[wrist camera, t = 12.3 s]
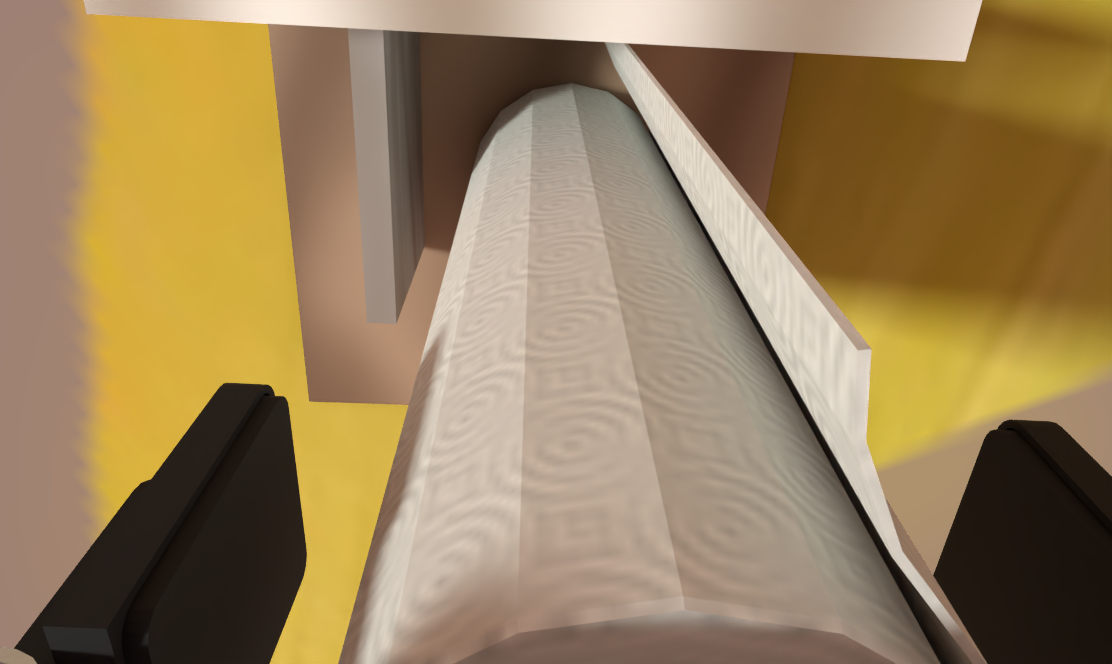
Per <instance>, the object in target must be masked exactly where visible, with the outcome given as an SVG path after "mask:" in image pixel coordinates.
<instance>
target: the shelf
mask: <svg viewBox="0 0 1112 664" xmlns="http://www.w3.org/2000/svg"><path fill="white" fill-rule="evenodd" d="M84 4H85V9H86V14H98V15H116V16H135V17H153V18H171V19H190V20H208V21H227V22H245V23H264V24H268V26H269V36H270V45H271V54H272V63H273V72H274V82H275V91H276V100H277V109H278V118H279V127H280V137H281V146H282V155H283V164H284V173H285V182H286V192H287V201H288V210H289V219H290V228H291V237H292V247H293V256H294V265H295V274H296V283H297V293H298V302H299V311H300V320H301V329H302V338H303V348H304V357H305V366H306V375H307V384H308V393H309V401H313V402H342V403H372V404H401V405H409V402H410V399H411V395H412V391H413V388H414V384H415V380H416V377H417V373H418V369H419V365H420V362H421V358H422V354H423V351H424V347H425V343H426V340H427V336H428V332H429V329H430V325H431V321H432V318H433V314H434V310H435V307H436V303H437V299H438V296H439V292H440V288H441V285H442V281H443V277H444V274H445V270H446V266H447V263H448V259H449V255H450V252H451V248H452V244H453V240H454V237H455V233H456V229H457V226H458V222H459V218H460V215H461V211H462V207H463V204H464V200H465V196H466V193H467V189H468V185H469V182H470V178H471V174H472V171H473V167H474V163H475V160H476V156H477V152H478V149H479V145H480V142H481V140H482V139H483V137H484V136H485V134H486V133H487V131H488V130H489V128H490V127H491V125H492V124H493V122H494V121H495V119H496V118H497V116H498V115H499V113H500V112H501V110H503V109H504V108H506V107H508V106H509V105H511V104H512V103H514V102H515V101H517V100H518V99H520V98H521V97H523V96H524V95H526V94H527V93H529V92H530V91H532V90H535V89H540V88H546V87H551V86H557V85H563V84H568V83H573V84H577V85H582V86H586V87H590V88H594V89H599V90H603V91H607V92H609V93H611V94H612V95H613V96H615V97H616V98H617V99H619V100H620V101H621V102H623V103H624V104H625V105H627V106H628V107H629V108H631V109H632V110H633V111H635V112H636V113H637V114H639V116H640V118H641V120H642V122H643V124H644V125H645V127H646V129H647V131H648V127H647V123H646V122H645V120H644V118H643V116H642V115H641V113H640V111H639V109H638V107H637V106H636V104H635V102H634V100H633V99H632V97H631V95H630V93H629V92H628V90H627V88H626V86H625V84H624V83H623V81H622V79H621V77H620V76H619V74H618V72H617V70H616V69H615V67H614V64H613V62H612V59H611V57H610V54H609V52H608V49H607V47H606V45H605V42H614V43H628V45H629V46H630V47H631V48H632V50H633V51H634V52H635V53H636V55H637V56H638V57H639V58H640V60H641V61H642V62H643V64H644V65H645V66H646V67H647V69H648V70H649V71H650V72H651V74H652V75H653V76H654V77H655V79H656V80H657V81H658V82H659V84H660V85H661V86H662V87H663V89H664V90H665V91H666V92H667V94H668V95H669V96H670V97H671V99H672V100H673V101H674V102H675V104H676V105H677V106H678V107H679V109H680V110H681V111H682V112H683V114H684V115H685V116H686V117H687V119H688V120H689V121H690V122H691V124H692V125H693V126H694V127H695V129H696V130H697V131H698V132H699V134H700V135H701V136H702V137H703V139H704V140H705V141H706V142H707V144H708V145H709V146H710V147H711V149H712V150H713V151H714V152H715V154H716V155H717V156H718V157H719V159H720V160H721V161H722V162H723V164H724V165H725V166H726V167H727V169H728V170H729V171H730V172H731V174H732V175H733V176H734V177H735V179H736V180H737V181H738V182H739V184H740V185H741V186H742V187H743V189H744V190H745V191H746V192H747V194H748V195H749V196H750V197H751V199H752V200H753V201H754V202H755V204H756V205H757V206H758V207H759V209H760V210H761V211H762V212H763V214H764V215H765V213H766V208H767V202H768V197H769V192H770V186H771V181H772V175H773V170H774V165H775V159H776V154H777V148H778V143H779V138H780V132H781V127H782V121H783V116H784V111H785V105H786V100H787V94H788V89H789V84H790V78H791V73H792V67H793V62H794V57H795V52H798V53H816V54H835V55H853V56H872V57H890V58H908V59H927V60H945V61H964V62H965V61H966V57H967V54H968V50H969V46H970V43H971V39H972V36H973V32H974V29H975V25H976V22H977V18H978V14H979V11H980V7H981V4H982V0H84ZM648 133H649V131H648Z"/></svg>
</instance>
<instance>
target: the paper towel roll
mask: <svg viewBox="0 0 1112 664" xmlns="http://www.w3.org/2000/svg"><path fill="white" fill-rule="evenodd" d="M605 45H606V47H607V49H608V52H609V54H610V57H611V59H612V62H613V64H614V67H615V69H616V70H617V72H618V74H619V76H620V77H621V79H622V81H623V83H624V84H625V86H626V88H627V90H628V92H629V93H630V95H631V97H632V99H633V100H634V102H635V104H636V106H637V107H638V109H639V111H640V113H641V115H642V116H643V118H644V120H645V122H646V123H647V127H648V131H649V133H648V131H647V129H646V127H645V125H644V124H643V122H642V120H641V118H640V116H639V114H637V113H636V112H635V111H633V110H632V109H631V108H629V107H628V106H627V105H625V104H624V103H623V102H621V101H620V100H619V99H617V98H616V97H615V96H613V95H612V94H611V93H609V92H607V91H603V90H599V89H594V88H590V87H586V86H582V85H577V84H573V83H568V84H563V85H557V86H551V87H546V88H540V89H535V90H532V91H530V92H529V93H527V94H526V95H524V96H523V97H521V98H520V99H518V100H517V101H515V102H514V103H512V104H511V105H509V106H508V107H506V108H504V109H503V110H501V112H500V113H499V115H498V116H497V118H496V119H495V121H494V122H493V124H492V125H491V127H490V128H489V130H488V131H487V133H486V134H485V136H484V137H483V139H482V140H481V142H480V145H479V149H478V152H477V156H476V160H475V163H474V167H473V171H472V174H471V178H470V182H469V185H468V189H467V193H466V196H465V200H464V204H463V207H462V211H461V215H460V218H459V222H458V226H457V229H456V233H455V237H454V240H453V244H452V248H451V252H450V255H449V259H448V263H447V266H446V270H445V274H444V277H443V281H442V285H441V288H440V292H439V296H438V299H437V303H436V307H435V310H434V314H433V318H432V321H431V325H430V329H429V332H428V336H427V340H426V343H425V347H424V351H423V354H422V358H421V362H420V365H419V369H418V373H417V377H416V380H415V384H414V388H413V391H412V395H411V399H410V402H409V406H408V410H407V413H406V417H405V421H404V424H403V428H402V432H401V435H400V439H399V443H398V446H397V450H396V454H395V457H394V461H393V465H392V468H391V472H390V476H389V479H388V483H387V487H386V490H385V494H384V498H383V502H382V505H381V509H380V513H379V516H378V520H377V524H376V527H375V531H374V535H373V538H372V542H371V546H370V549H369V553H368V557H367V560H366V564H365V568H364V571H363V575H362V579H361V582H360V586H359V590H358V593H357V597H356V601H355V604H354V608H353V612H352V615H351V619H350V623H349V627H348V630H347V634H346V638H345V641H344V645H343V649H342V652H341V656H340V660H339V663H338V664H987V663H986V661H985V659H984V658H983V656H982V654H981V653H980V651H979V649H978V648H977V646H976V645H975V643H974V641H973V640H972V638H971V636H970V635H969V633H968V632H967V630H966V628H965V627H964V625H963V623H962V622H961V620H960V619H959V617H958V615H957V614H956V612H955V610H954V609H953V607H952V605H951V604H950V602H949V601H948V599H947V597H946V596H945V594H944V592H943V591H942V589H941V588H940V586H939V584H938V583H937V581H936V579H935V578H934V576H933V575H932V573H931V571H930V570H929V568H928V567H927V565H926V563H925V561H924V560H923V558H922V557H921V555H920V553H919V552H918V550H917V549H916V547H915V545H914V544H913V542H912V540H911V539H910V537H909V535H908V534H907V532H906V531H905V529H904V527H903V526H902V524H901V522H900V521H899V519H898V517H897V516H896V514H895V513H894V511H893V509H892V508H891V506H890V504H889V503H888V501H887V500H886V498H885V496H884V494H883V491H882V488H881V485H880V482H879V479H878V476H877V472H876V469H875V466H874V463H873V460H872V457H871V454H870V451H869V448H868V445H867V442H866V433H867V415H868V398H869V381H870V364H871V348H870V346H869V345H868V344H867V343H866V341H865V340H864V339H863V338H862V336H861V335H860V334H859V333H858V331H857V330H856V329H855V328H854V326H853V325H852V324H851V323H850V321H849V320H848V319H847V318H846V316H845V315H844V314H843V313H842V311H841V310H840V309H839V308H838V306H837V305H836V304H835V303H834V301H833V300H832V299H831V298H830V296H829V295H828V294H827V293H826V291H825V290H824V289H823V288H822V286H821V285H820V284H819V283H818V281H817V280H816V279H815V278H814V276H813V275H812V274H811V273H810V271H809V270H808V269H807V268H806V266H805V265H804V264H803V263H802V261H801V260H800V259H799V258H798V256H797V255H796V254H795V253H794V251H793V250H792V249H791V248H790V246H789V245H788V244H787V243H786V241H785V240H784V239H783V238H782V236H781V235H780V234H779V233H778V231H777V230H776V229H775V228H774V226H773V225H772V224H771V222H770V221H769V220H768V219H767V217H766V216H765V215H764V214H763V212H762V211H761V210H760V209H759V207H758V206H757V205H756V204H755V202H754V201H753V200H752V199H751V197H750V196H749V195H748V194H747V192H746V191H745V190H744V189H743V187H742V186H741V185H740V184H739V182H738V181H737V180H736V179H735V177H734V176H733V175H732V174H731V172H730V171H729V170H728V169H727V167H726V166H725V165H724V164H723V162H722V161H721V160H720V159H719V157H718V156H717V155H716V154H715V152H714V151H713V150H712V149H711V147H710V146H709V145H708V144H707V142H706V141H705V140H704V139H703V137H702V136H701V135H700V134H699V132H698V131H697V130H696V129H695V127H694V126H693V125H692V124H691V122H690V121H689V120H688V119H687V117H686V116H685V115H684V114H683V112H682V111H681V110H680V109H679V107H678V106H677V105H676V104H675V102H674V101H673V100H672V99H671V97H670V96H669V95H668V94H667V92H666V91H665V90H664V89H663V87H662V86H661V85H660V84H659V82H658V81H657V80H656V79H655V77H654V76H653V75H652V74H651V72H650V71H649V70H648V69H647V67H646V66H645V65H644V64H643V62H642V61H641V60H640V58H639V57H638V56H637V55H636V53H635V52H634V51H633V50H632V48H631V47H630V46H629V45H628V43H614V42H605Z"/></svg>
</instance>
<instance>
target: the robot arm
mask: <svg viewBox="0 0 1112 664" xmlns="http://www.w3.org/2000/svg"><path fill="white" fill-rule="evenodd" d="M306 557H307V552H306V542H305V534H304V526H303V518H302V510H301V502H300V494H299V486H298V478H297V470H296V462H295V454H294V446H293V438H292V430H291V422H290V414H289V407H288V402H287V400H286V398H285V397H283V396H275V394H274V391H273V389H272V387H271V386H269V385H261V384H240V383H224V384H223V385H222V386H220V387H219V389H218V390H217V391H216V393H215V394H214V395H213V397H212V398H211V399H210V401H209V402H208V404H207V405H206V406H205V408H204V409H203V410H202V412H201V413H200V414H199V416H198V417H197V418H196V420H195V421H194V422H193V424H192V425H191V426H190V428H189V429H188V431H187V432H186V433H185V435H184V436H183V437H182V439H181V440H180V441H179V443H178V444H177V445H176V447H175V448H174V449H173V451H172V452H171V453H170V455H169V456H168V458H167V459H166V460H165V462H164V463H163V464H162V466H161V467H160V468H159V470H158V471H157V472H156V474H155V475H154V476H153V478H152V479H151V480H147V481H145V482H142V483H141V484H140V485H139V486H138V487H137V488H136V489H135V490H134V491H133V492H132V493H131V495H130V496H129V497H128V499H127V500H126V501H125V503H124V504H123V505H122V507H121V508H120V509H119V510H118V512H117V513H116V514H115V516H114V517H113V518H112V520H111V521H110V522H109V524H108V525H107V526H106V528H105V529H104V530H103V532H102V533H101V534H100V536H99V537H98V538H97V540H96V541H95V542H94V543H93V545H92V546H91V547H90V549H89V550H88V551H87V553H86V554H85V555H84V557H83V558H82V559H81V561H80V562H79V563H78V565H77V566H76V567H75V569H74V570H73V571H72V573H71V574H70V575H69V577H68V578H67V579H66V580H65V582H64V583H63V585H62V586H61V587H60V588H59V590H58V591H57V592H56V594H55V595H54V596H53V598H52V599H51V600H50V602H49V603H48V604H47V606H46V607H45V608H44V609H43V611H42V612H41V613H40V615H39V616H38V617H37V619H36V620H35V622H34V623H33V624H32V625H31V627H30V628H29V629H28V631H27V632H26V633H25V635H24V636H23V637H22V639H21V640H20V641H19V642H18V644H17V645H16V646H15V648H14V649H11V648H2V647H0V664H269V663H270V661H271V658H272V656H273V653H274V651H275V648H276V645H277V643H278V640H279V638H280V635H281V633H282V630H283V628H284V625H285V623H286V620H287V618H288V615H289V612H290V610H291V607H292V605H293V602H294V600H295V597H296V595H297V592H298V590H299V587H300V585H301V582H302V579H303V576H304V572H305V567H306ZM933 576H934V578H935V579H936V581H937V583H938V584H939V586H940V588H941V589H942V591H943V592H944V594H945V596H946V597H947V599H948V601H949V602H950V604H951V605H952V607H953V609H954V610H955V612H956V614H957V615H958V617H959V619H960V620H961V622H962V623H963V625H964V627H965V628H966V630H967V632H968V633H969V635H970V636H971V638H972V640H973V641H974V643H975V645H976V646H977V648H978V649H979V651H980V653H981V654H982V656H983V658H984V659H985V661H986V663H987V664H1112V476H1110V475H1109V473H1108V472H1106V471H1105V470H1104V469H1103V468H1102V467H1101V466H1100V465H1099V464H1098V463H1097V462H1096V461H1095V460H1094V459H1093V458H1092V457H1091V456H1090V455H1089V454H1088V453H1087V452H1086V451H1085V450H1084V449H1083V448H1082V447H1081V446H1080V445H1079V444H1078V443H1077V442H1076V441H1075V440H1074V439H1073V438H1072V437H1071V436H1070V435H1069V434H1068V433H1067V432H1066V431H1065V430H1064V429H1063V428H1062V427H1061V426H1059V425H1058V424H1056V423H1054V422H1049V421H1027V420H1007V421H1004V422H1003V423H1002V424H1001V425H1000V426H999V427H998V429H997V430H992V431H990V432H989V433H988V434H987V435H986V437H985V439H984V441H983V444H982V447H981V449H980V452H979V455H978V457H977V460H976V463H975V465H974V468H973V471H972V473H971V476H970V479H969V481H968V484H967V487H966V490H965V492H964V495H963V497H962V500H961V503H960V505H959V508H958V511H957V514H956V516H955V519H954V521H953V524H952V527H951V529H950V532H949V535H948V538H947V540H946V543H945V546H944V548H943V551H942V554H941V556H940V559H939V562H938V564H937V567H936V570H935V572H934V575H933Z"/></svg>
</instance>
